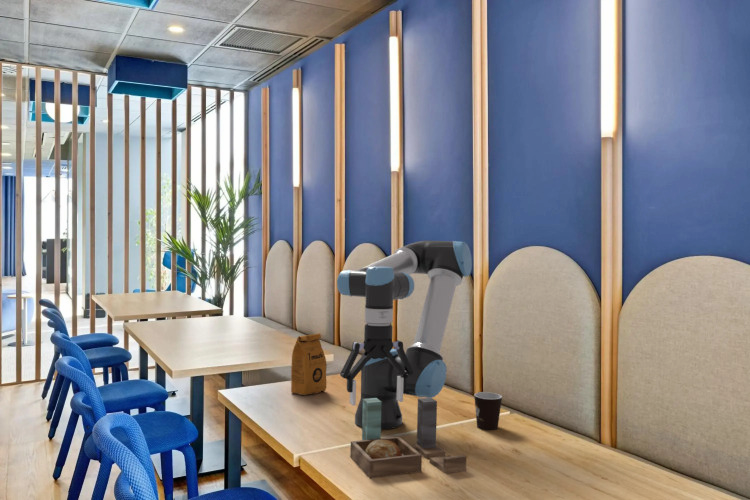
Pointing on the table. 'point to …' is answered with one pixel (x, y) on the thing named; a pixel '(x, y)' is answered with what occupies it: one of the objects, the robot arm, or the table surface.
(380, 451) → the bread roll
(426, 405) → the grey tall block
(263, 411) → the table surface
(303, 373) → the coffee package
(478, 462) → the table surface
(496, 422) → the coffee mug
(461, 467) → the strip
